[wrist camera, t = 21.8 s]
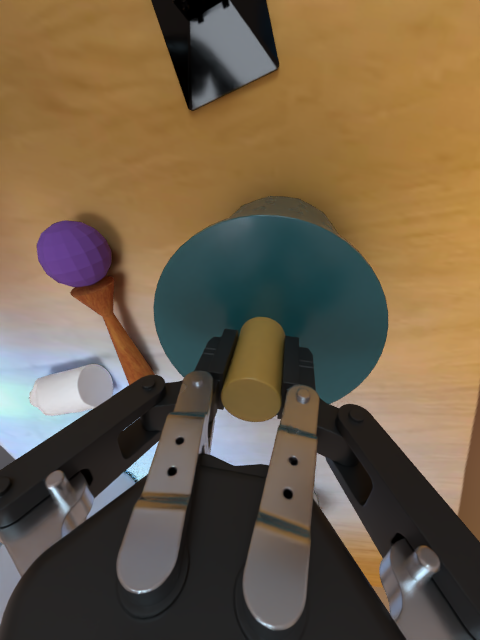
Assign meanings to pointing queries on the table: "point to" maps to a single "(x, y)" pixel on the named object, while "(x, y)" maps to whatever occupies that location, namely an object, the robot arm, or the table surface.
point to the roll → (72, 390)
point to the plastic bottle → (3, 572)
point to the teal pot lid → (272, 307)
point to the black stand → (217, 45)
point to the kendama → (89, 282)
